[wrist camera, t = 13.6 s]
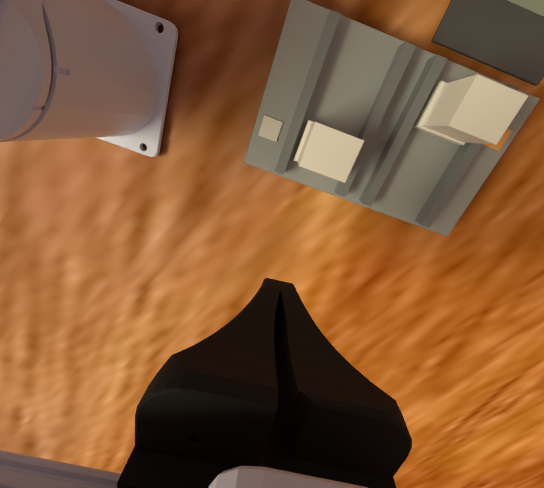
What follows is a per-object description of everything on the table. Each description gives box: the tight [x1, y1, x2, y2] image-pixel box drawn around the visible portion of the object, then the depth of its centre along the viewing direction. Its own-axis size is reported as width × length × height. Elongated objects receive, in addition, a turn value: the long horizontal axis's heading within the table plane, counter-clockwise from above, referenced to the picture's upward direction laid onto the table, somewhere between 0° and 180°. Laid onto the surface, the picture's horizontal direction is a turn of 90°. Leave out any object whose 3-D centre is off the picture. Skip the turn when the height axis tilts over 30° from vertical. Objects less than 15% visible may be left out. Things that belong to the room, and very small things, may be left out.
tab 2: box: [413, 74, 528, 145], centre depth 14 cm, size 3×2×4 cm
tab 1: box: [294, 120, 364, 183], centre depth 15 cm, size 3×2×4 cm
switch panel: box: [244, 0, 540, 236], centre depth 17 cm, size 15×9×2 cm, turn 71°
